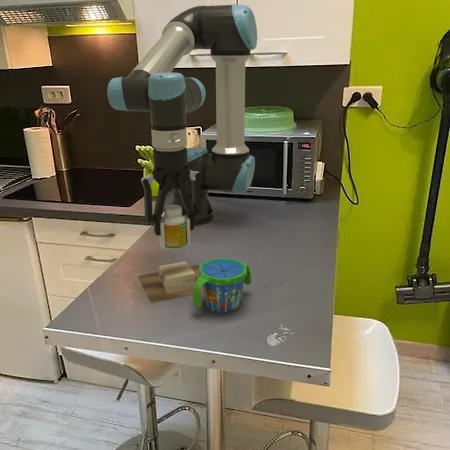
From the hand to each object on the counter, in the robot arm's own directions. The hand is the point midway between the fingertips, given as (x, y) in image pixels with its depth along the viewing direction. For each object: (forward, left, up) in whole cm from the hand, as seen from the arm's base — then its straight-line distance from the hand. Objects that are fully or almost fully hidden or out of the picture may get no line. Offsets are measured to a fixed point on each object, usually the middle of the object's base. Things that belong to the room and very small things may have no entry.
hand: (175, 244), depth 114 cm
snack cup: (+12, +7, -12) cm, 19 cm away
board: (-1, 0, -12) cm, 12 cm away
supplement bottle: (0, 0, -1) cm, 1 cm away
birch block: (0, 0, -11) cm, 11 cm away
